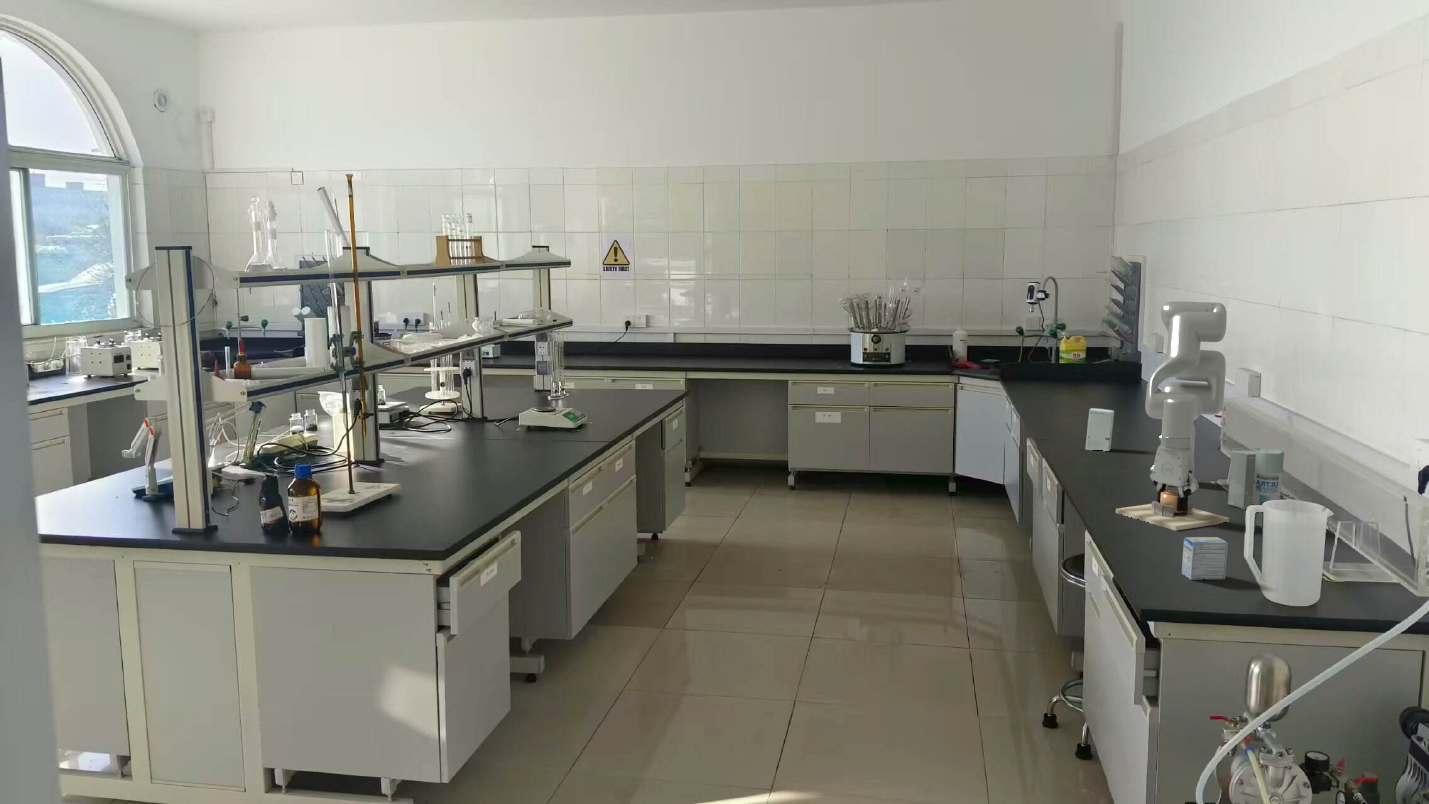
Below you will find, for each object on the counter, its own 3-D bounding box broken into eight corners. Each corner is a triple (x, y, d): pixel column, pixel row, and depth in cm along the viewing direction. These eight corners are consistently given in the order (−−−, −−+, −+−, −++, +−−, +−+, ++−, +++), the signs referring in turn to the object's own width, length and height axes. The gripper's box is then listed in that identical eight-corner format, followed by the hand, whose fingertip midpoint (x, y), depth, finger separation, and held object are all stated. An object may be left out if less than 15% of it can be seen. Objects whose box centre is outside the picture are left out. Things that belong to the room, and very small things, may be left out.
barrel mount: (1115, 513, 288) (1116, 498, 287) (1167, 505, 296) (1168, 491, 296) (1175, 530, 270) (1176, 514, 269) (1228, 522, 278) (1229, 506, 278)
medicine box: (1215, 573, 234) (1218, 536, 233) (1225, 580, 230) (1228, 542, 229) (1180, 574, 234) (1183, 536, 233) (1190, 580, 230) (1193, 542, 228)
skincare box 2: (1243, 510, 291) (1248, 454, 289) (1225, 504, 298) (1229, 449, 296) (1268, 508, 293) (1273, 453, 291) (1249, 502, 300) (1253, 448, 298)
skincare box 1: (1085, 450, 377) (1087, 409, 375) (1087, 447, 382) (1090, 407, 380) (1109, 452, 373) (1112, 411, 371) (1111, 449, 379) (1114, 409, 376)
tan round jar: (1154, 508, 284) (1156, 490, 283) (1170, 506, 287) (1171, 488, 286) (1172, 513, 279) (1174, 495, 278) (1188, 511, 281) (1190, 493, 281)
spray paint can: (1278, 524, 277) (1284, 450, 274) (1277, 529, 271) (1283, 454, 268) (1251, 520, 280) (1257, 447, 277) (1249, 526, 274) (1255, 451, 271)
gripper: (1140, 438, 286) (1136, 502, 289) (1193, 449, 271) (1188, 517, 273) (1160, 436, 289) (1156, 499, 292) (1213, 447, 274) (1208, 514, 277)
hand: (1171, 507), depth 283 cm, fingers closed on tan round jar, 5 cm apart
